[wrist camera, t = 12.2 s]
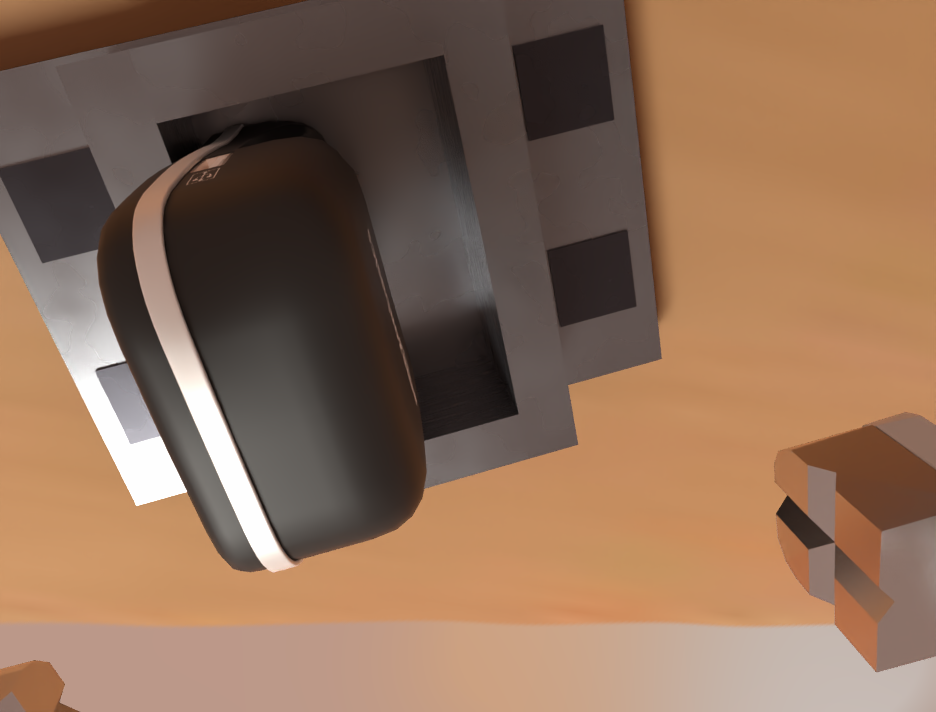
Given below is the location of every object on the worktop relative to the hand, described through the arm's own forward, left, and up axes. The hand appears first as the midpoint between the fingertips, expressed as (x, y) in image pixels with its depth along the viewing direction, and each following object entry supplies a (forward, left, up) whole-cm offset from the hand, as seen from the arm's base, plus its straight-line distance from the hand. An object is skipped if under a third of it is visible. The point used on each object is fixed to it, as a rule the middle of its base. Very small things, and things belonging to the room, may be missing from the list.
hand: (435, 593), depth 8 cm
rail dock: (0, 0, -17) cm, 17 cm away
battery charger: (+1, -1, -15) cm, 15 cm away
